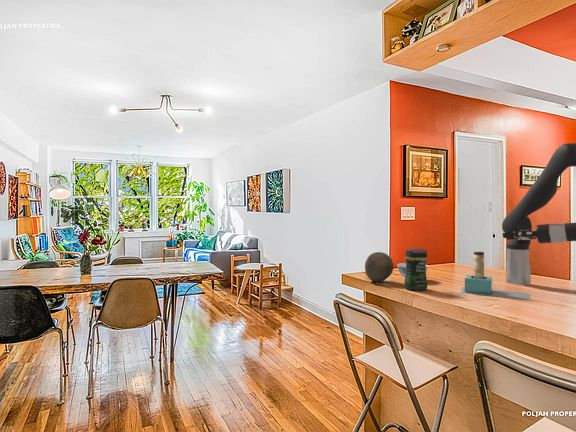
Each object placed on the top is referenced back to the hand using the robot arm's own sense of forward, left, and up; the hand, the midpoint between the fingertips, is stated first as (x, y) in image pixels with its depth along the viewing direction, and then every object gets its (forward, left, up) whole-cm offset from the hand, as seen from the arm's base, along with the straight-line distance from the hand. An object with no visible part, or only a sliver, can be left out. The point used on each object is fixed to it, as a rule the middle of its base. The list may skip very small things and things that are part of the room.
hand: (504, 236), depth 157 cm
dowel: (+8, -5, -23) cm, 25 cm away
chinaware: (+18, -41, -25) cm, 51 cm away
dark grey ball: (+37, -41, -25) cm, 61 cm away
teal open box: (+8, -5, -25) cm, 27 cm away
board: (+4, -1, -25) cm, 25 cm away
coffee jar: (+29, -21, -25) cm, 44 cm away
